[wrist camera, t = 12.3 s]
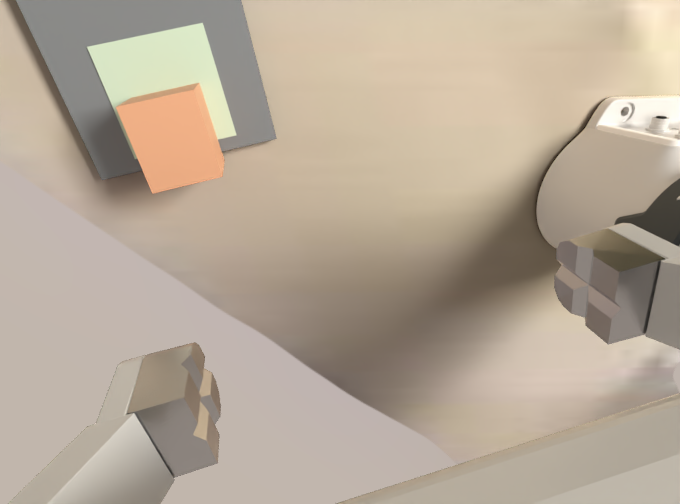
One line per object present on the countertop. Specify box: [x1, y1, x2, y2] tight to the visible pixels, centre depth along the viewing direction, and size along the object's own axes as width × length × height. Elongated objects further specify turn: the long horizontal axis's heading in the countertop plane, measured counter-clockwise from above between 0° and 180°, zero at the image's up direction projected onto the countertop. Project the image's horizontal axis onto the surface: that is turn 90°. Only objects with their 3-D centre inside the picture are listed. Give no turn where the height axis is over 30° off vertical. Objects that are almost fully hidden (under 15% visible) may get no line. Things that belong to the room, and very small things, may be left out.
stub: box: [116, 83, 225, 194], centre depth 31 cm, size 5×6×4 cm
